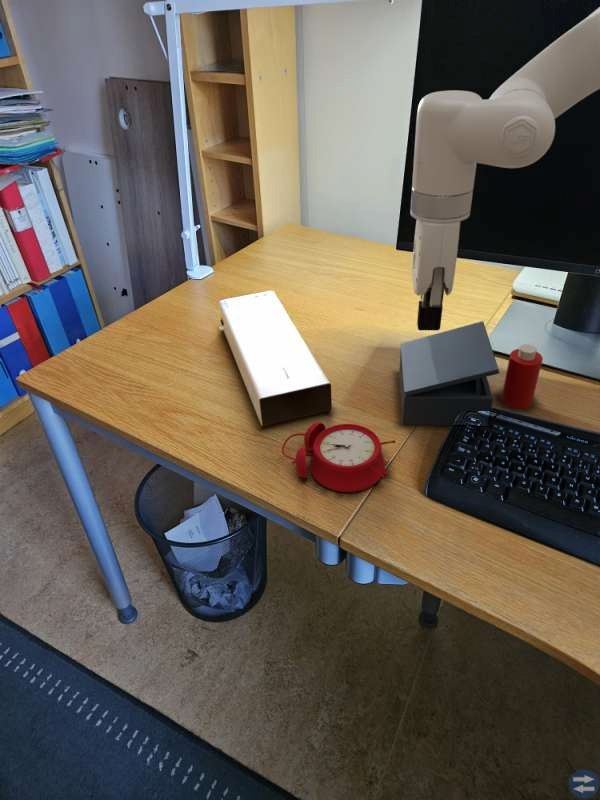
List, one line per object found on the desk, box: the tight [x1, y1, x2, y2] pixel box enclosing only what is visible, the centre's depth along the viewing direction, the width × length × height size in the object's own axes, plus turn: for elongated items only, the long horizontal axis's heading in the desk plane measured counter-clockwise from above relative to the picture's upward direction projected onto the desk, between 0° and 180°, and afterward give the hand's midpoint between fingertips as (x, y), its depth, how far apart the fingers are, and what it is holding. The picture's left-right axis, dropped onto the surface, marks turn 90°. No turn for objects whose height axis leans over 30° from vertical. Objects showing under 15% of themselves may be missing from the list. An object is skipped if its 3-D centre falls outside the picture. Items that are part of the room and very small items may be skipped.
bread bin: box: [398, 351, 494, 427], centre depth 88 cm, size 13×14×5 cm
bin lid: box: [400, 320, 500, 396], centre depth 85 cm, size 13×14×1 cm
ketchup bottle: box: [500, 343, 543, 410], centre depth 86 cm, size 5×5×10 cm
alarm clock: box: [281, 421, 396, 493], centre depth 78 cm, size 10×6×15 cm
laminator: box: [218, 289, 333, 428], centre depth 98 cm, size 34×12×6 cm, turn 17°
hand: (428, 327), depth 82 cm, fingers closed
